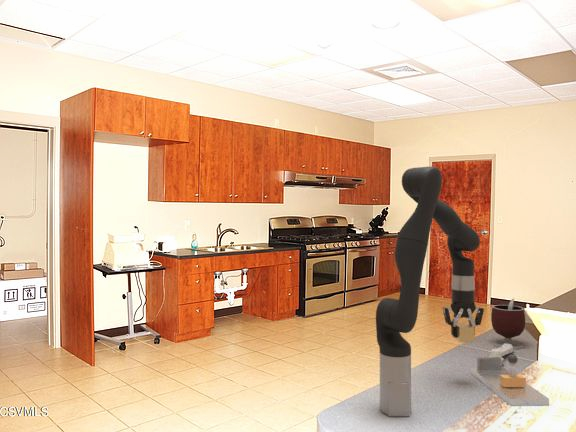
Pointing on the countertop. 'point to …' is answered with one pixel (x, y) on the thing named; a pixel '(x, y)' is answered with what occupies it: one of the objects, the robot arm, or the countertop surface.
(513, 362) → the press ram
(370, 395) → the countertop surface
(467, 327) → the block
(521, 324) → the mate gourd
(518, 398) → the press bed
